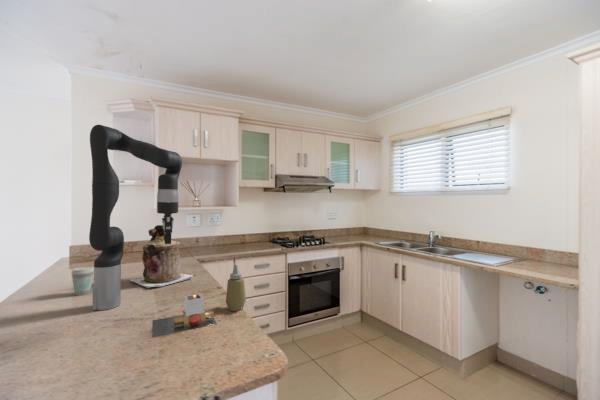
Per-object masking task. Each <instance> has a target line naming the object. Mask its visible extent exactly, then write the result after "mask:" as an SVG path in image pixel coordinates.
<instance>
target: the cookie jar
mask: <svg viewBox="0 0 600 400" xmlns="http://www.w3.org/2000/svg"><path fill="white" fill-rule="evenodd" d="M148 235H149V236H150V237H151V238H150V240H149V241H147V243H146V244H144V245H143V247H142V250H143V252H142V256H141V257H142V258H141V260H142V264H143V267H144V269H143V273H142V276H143V277H139V278H131V279H129V282H132V283H135V284H137V285H140V287H141V286H142V287H145V288H147V289H150V288H156V287H157V288H158V287H159V288H161V287H165V286H168V285H172V284H175V283H179V282H183V281H187V280H192V279H193V277H194V275H193V274H184V273H180V271H181V269H182V267H181V266H182V265H181V255H180V254H181V253H180V248H179V246H180V244H181V242H180V241H176V240H172V239H171V244H165V241H164V229H163V224H157V225H155V226H154V228H150V229H149V230H148Z"/></svg>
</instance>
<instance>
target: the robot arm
mask: <svg viewBox="0 0 600 400" xmlns="http://www.w3.org/2000/svg"><path fill="white" fill-rule="evenodd" d="M89 144H90V145H89V146H90V153H91V155H90V156H91V163H92V164H91V166H92V169H91V170H92V180H91V194H92V197H91V198H92V199H91V200H92V202H91V221H90V227H89V235H88V236H89V237H88V239H89V240H88V241H89V244H90V246H91V248H92V249H94V250H95V251H97V252H99V251H100V254H99V255H98V256H97V257H96V258H95V259H94V262H93V269H94V272H93V286H92V311H105V310H109V309H110V310H111V309H114V308H117V307H118V306H120V305H121V303H122V302H121V300H122V298H121V297H122V295H121V294H122V293H121V292H122V286H121V285H122V280H121V279H122V278H121V277H122V259H123V258H124V257H123V256H124V245H125V236H124V233H123V231H122V229H121V228H119V227H118V226H111V217H112V216H111V215H112V213H113V210H114V208H115V206H116V205H117V202H118V200H119V197H120V180H119V176H118V175H117V173H116V172H115V169H114V168H113V166H112V165H111V163H110V159H109V152H108V151H109V150H110V151H119V152H124V153H125V152H126V153H129V154H131V155H132V156H134V157H136V158H137V159H140V160H143V161H146V162H148V163H150V164H152V165H154V166H155V167H159V168H162V169H165V173H164V174H160V175H158V178H157V180H158V181H157V194H156V200H157V201H156V213H157V214H161V215H162V214H163V217H162V218H161V222H162V225H163V229H164V241H165V244H171V240H172V233H173V228H174V220H175V219H174V217H173V216H172V214H178V213H179V189H178V187H179V182H178V181H179V178H180V177H179V176H180V173H181V169H182V166H183V159H182V157H181V155H180V154H179V152H175V151H172V150H167V149H165V148H162V147H161V148H160V147H158V146H156V145H154V144H151V143H148V142H146V141H142V140H138V139H135V138H133V137H132V136H129V135H127V134H125V133H123V132H122V131H120V130H118V129H116V128H114V127H110V126H106V125H102V124H95V125H94V126H92V128H91V129H90V134H89Z"/></svg>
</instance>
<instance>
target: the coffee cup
mask: <svg viewBox="0 0 600 400" xmlns="http://www.w3.org/2000/svg"><path fill="white" fill-rule="evenodd" d="M71 276H72V283H73V290H74V292H73V293H74V295H75V296H85V295H88V294H90V293H91V291H92V284H93V279H94V266H81V267H76V268H73V269H72V271H71Z"/></svg>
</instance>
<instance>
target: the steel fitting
mask: <svg viewBox="0 0 600 400" xmlns="http://www.w3.org/2000/svg"><path fill="white" fill-rule="evenodd" d="M194 297H197V298H198V299H191V298H194ZM190 299H191V300H190ZM204 310H205V297H204V295H203V293H194V294H188V295H184V296H183V311H185V315H186V316H189V315H195V314H200V313H204Z"/></svg>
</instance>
